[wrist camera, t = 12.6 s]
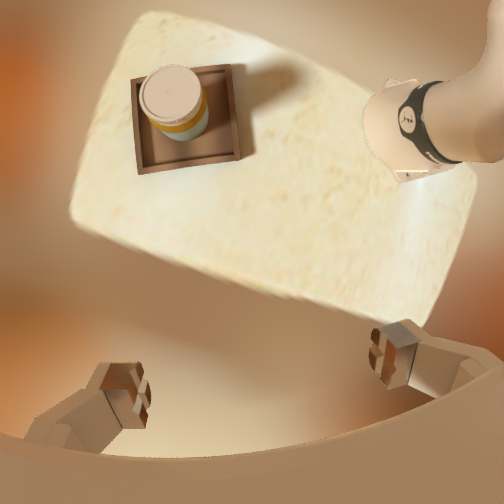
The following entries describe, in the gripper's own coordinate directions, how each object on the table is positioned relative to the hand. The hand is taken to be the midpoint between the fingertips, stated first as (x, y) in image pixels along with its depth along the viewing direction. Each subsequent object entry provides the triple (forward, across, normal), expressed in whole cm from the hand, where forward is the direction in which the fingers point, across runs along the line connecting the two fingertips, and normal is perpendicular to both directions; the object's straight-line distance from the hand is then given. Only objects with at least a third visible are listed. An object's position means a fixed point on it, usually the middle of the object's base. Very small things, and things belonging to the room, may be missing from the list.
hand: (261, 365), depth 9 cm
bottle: (+35, +4, -15) cm, 39 cm away
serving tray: (+36, +5, -15) cm, 39 cm away
